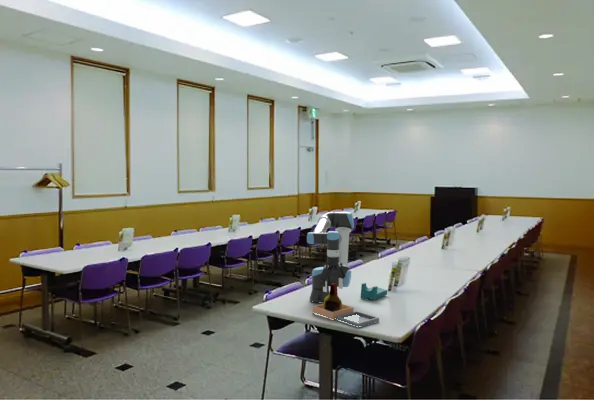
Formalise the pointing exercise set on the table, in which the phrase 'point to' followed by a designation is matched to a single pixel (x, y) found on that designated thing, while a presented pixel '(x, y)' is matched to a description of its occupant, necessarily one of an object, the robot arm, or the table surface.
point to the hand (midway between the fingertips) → (332, 290)
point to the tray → (363, 318)
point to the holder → (320, 310)
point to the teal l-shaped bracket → (372, 292)
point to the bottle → (333, 299)
